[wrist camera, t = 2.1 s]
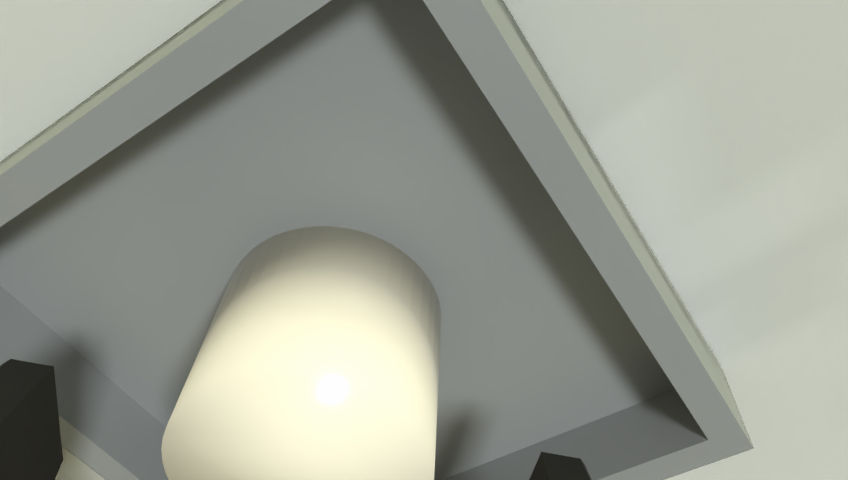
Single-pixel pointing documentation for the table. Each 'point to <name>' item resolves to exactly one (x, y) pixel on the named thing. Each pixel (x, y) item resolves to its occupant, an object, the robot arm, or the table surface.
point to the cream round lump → (314, 367)
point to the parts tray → (363, 211)
